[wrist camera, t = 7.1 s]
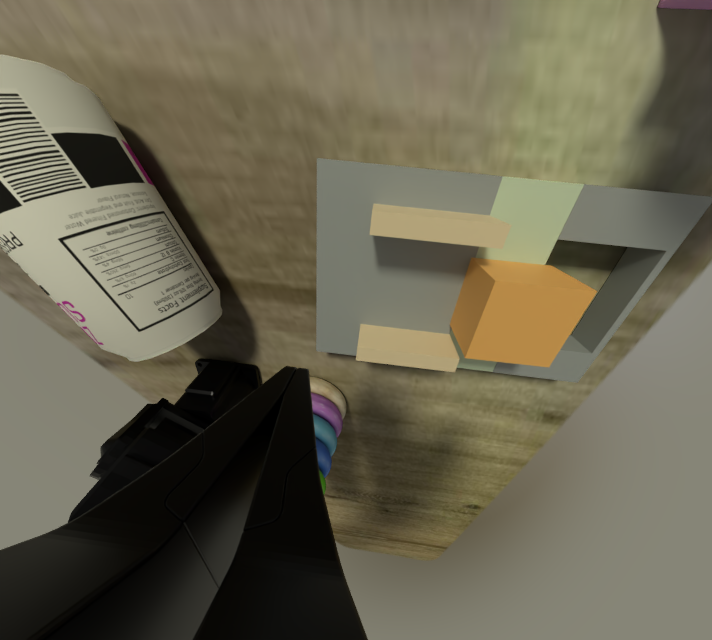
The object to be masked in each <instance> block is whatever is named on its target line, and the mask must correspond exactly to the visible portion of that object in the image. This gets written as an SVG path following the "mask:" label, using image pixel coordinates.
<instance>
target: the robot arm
mask: <svg viewBox="0 0 712 640" xmlns="http://www.w3.org/2000/svg"><path fill="white" fill-rule="evenodd" d="M195 365H196V368H197V371H198V374H199V375H198V376H197V377H196V378H195V379H194V380H193V381H192V383H191V384H190V385H189V386H188V387H187V388H186V390H185V391H186V392H185V393H184V394H183V395H182V396H181V398H180V399H179V400H178V401H177V402H176V403H175V405H173V404H171V403H169V402H168V400H166V399H164V398H162V399H161V400H160V401H159V402H158V403H157V404H147V405H146V406H145V407H144V408H143V409H142V410H141V411H140V412H139V413H138V414H137V415H136V416H135V417H134V418H133V419H132V420H131V421H130V422H128V423H127V424H126V425H125V426H124V427H122V428H121V429H120V430H119V431H118V432H116V433H115V434H114V435H113V436H112V437H110V438H109V439H108V440H107V441H106V442H105V443H104V444H103V445H102V446H101V458H100V460H99V461H98V462H97V464H98V465H97V466H96V468H95V469H94V471H93V472H92V473H91V474H90V476H91V477H93V478H96V479H98V480H99V481H98V482H97V483H96V484H95V485H94V487H93V488H92V489H91V490H90V491H89V492H88V493H87V495H86V496H85V497H84V498H83V499H82V500H81V501H80V503H79V504H78V505H77V506H76V507H75V509H74V510H73V511H72V513H71V515H70V518H69V521H68V523H67V524H65V525H63V526H61V527H59V528H57V529H55V530H53V531H50V532H48V533H46V534H43V535H41V536H38V537H35V538H32V539H30V540H27V541H24V542H21V543H18V544H16V545H13V546H10V547H8V548H5V549H2V550H0V640H368V639H367V636H366V633H365V631H364V628H363V626H362V623H361V620H360V617H359V615H358V612H357V609H356V606H355V604H354V601H353V598H352V596H351V593H350V590H349V587H348V585H347V582H346V579H345V576H344V573H343V569H342V566H341V563H340V559H339V556H338V552H337V547H336V543H335V539H334V535H333V531H332V527H331V523H330V519H329V515H328V510H327V506H326V502H325V498H324V493H323V489H322V484H321V479H320V472H319V465H318V456H317V449H316V437H315V427H314V417H313V407H312V397H311V386H310V376H309V370H308V369H304V368H298V369H297V368H296V367H290V366H286V367H284V368H283V369H281V370H280V371H279V372H278V373H276V374H275V375H274V376H273V377H271V378H270V379H269V380H267V381H266V382H265V383H264V384H262V385H261V386H260V380H259V374H258V368H257V367H256V366H255V365H249V364H241V363H233V362H225V361H217V360H209V359H198V360H197V361H196V362H195Z"/></svg>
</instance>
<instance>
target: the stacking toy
mask: <svg viewBox="0 0 712 640" xmlns="http://www.w3.org/2000/svg"><path fill="white" fill-rule="evenodd" d="M310 386H311V397H312V407H313V417H314V427H315V437H316V449H317V456H318V465H319V472H320V479H321V484H322V489H323V493H324V494H325V490H326V482H325V478H326V476H327V475H328V473H329V471H330V469H331V456H332V455H333V454H334V452H335V450H336V446H337V437H338V436H339V435H340V433H341V430H342V425H343V419H344V417H345V414H346V401H345V398H344V396H343V395H342V393H341V392H340V391H339V390H338V389H337V388H336V387H335V386H334V385H332V384H331V383H329V382H327V381H325V380H323V379H320V378H316V377H310Z"/></svg>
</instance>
